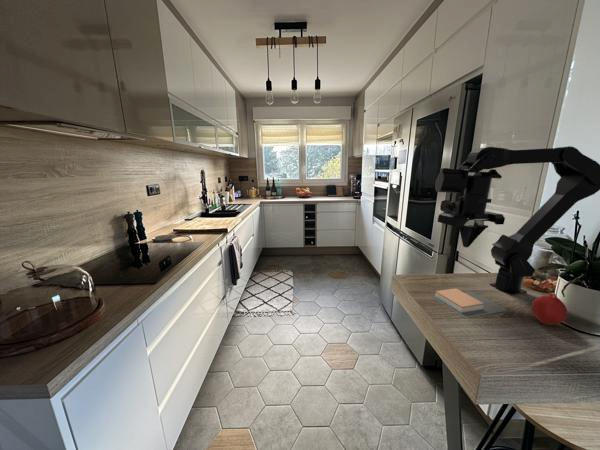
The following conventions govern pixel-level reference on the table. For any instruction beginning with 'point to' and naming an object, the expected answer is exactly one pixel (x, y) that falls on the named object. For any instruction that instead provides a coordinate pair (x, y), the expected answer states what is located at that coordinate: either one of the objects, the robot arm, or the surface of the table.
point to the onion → (549, 309)
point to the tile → (459, 300)
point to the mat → (487, 309)
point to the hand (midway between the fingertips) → (465, 247)
